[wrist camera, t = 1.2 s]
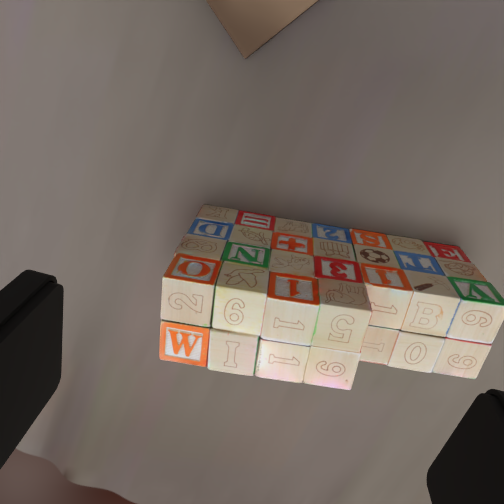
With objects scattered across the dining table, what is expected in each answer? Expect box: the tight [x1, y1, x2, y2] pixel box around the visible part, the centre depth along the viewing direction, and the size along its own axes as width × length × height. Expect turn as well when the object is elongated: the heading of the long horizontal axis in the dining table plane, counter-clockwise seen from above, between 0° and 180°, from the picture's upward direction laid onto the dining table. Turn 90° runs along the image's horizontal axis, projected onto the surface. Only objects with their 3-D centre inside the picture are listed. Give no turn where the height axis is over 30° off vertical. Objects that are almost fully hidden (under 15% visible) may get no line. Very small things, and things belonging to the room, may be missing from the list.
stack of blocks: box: [159, 205, 504, 390], centre depth 31 cm, size 21×6×12 cm, turn 83°
